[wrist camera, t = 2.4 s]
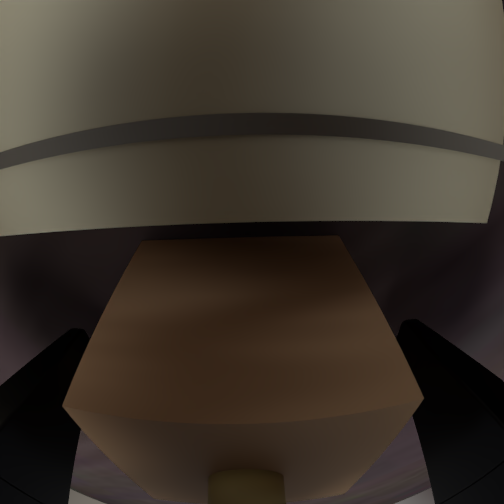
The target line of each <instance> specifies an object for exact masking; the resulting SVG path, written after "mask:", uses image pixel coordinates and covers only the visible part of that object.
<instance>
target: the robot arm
mask: <svg viewBox="0 0 504 504" xmlns="http://www.w3.org/2000/svg"><path fill="white" fill-rule="evenodd" d="M396 340H397V342H398V344H399V346H400V348H401V350H402V352H403V354H404V356H405V358H406V360H407V362H408V364H409V367H410V369H411V371H412V373H413V375H414V377H415V379H416V381H417V384H418V386H419V388H420V390H421V393H422V395H423V397H424V399H423V401H422V402H421V404H420V405H419V407H418V408H417V409H416V411H415V412H414V414H413V415H412V416H413V419H414V422H415V426H416V429H417V432H418V436H419V440H420V443H421V447H422V451H423V454H424V458H425V462H426V466H427V470H428V474H429V478H430V483H431V487H432V491H433V496H434V501H435V504H504V382H503V380H501V379H500V378H499V377H497V376H496V375H495V374H493V373H492V372H491V371H489V370H488V369H486V368H485V367H484V366H482V365H481V364H480V363H478V362H477V361H476V360H474V359H473V358H471V357H470V356H469V355H467V354H466V353H464V352H463V351H462V350H460V349H459V348H457V347H456V346H455V345H453V344H452V343H450V342H449V341H448V340H446V339H445V338H443V337H442V336H440V335H439V334H438V333H436V332H435V331H433V330H432V329H430V328H429V327H428V326H426V325H425V324H423V323H422V322H420V321H419V320H417V319H411V320H405V321H404V322H403V323H402V325H401V327H400V330H399V333H398V335H397V338H396ZM89 341H90V339H89V337H88V335H87V333H86V331H85V330H84V329H77V328H72V329H70V330H69V331H67V332H66V333H65V334H63V335H62V336H61V337H60V338H58V339H57V340H56V341H55V342H53V343H52V344H51V345H49V346H48V347H47V348H46V349H44V350H43V351H42V352H41V353H39V354H38V355H37V356H36V357H35V358H33V359H32V360H31V361H30V362H28V363H27V364H26V365H25V366H24V367H22V368H21V369H20V370H19V371H17V372H16V373H15V374H14V375H13V376H11V377H10V378H9V379H8V380H7V381H5V382H4V383H3V384H2V385H1V386H0V504H68V500H69V492H70V485H71V479H72V473H73V467H74V461H75V455H76V450H77V445H78V440H79V435H80V431H81V428H80V427H79V426H78V425H77V423H76V422H75V421H74V420H73V419H72V418H71V416H70V415H69V414H68V413H67V411H66V410H65V409H64V408H63V406H62V405H63V402H64V400H65V397H66V395H67V392H68V390H69V387H70V385H71V382H72V380H73V377H74V375H75V373H76V370H77V368H78V366H79V363H80V361H81V359H82V357H83V354H84V352H85V350H86V348H87V345H88V343H89Z"/></svg>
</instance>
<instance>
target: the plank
mask: <svg viewBox="0 0 504 504" xmlns="http://www.w3.org/2000/svg"><path fill="white" fill-rule="evenodd" d="M503 139H504V12H503V5H502V0H0V236H10V235H21V234H33V233H45V232H58V231H72V230H87V229H103V228H119V227H138V226H158V225H180V224H206V223H238V222H281V221H427V222H467V223H487V220H488V217H489V213H490V209H491V205H492V201H493V196H494V192H495V187H496V182H497V177H498V172H499V166H500V161H504V145H503Z"/></svg>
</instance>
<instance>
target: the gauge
mask: <svg viewBox="0 0 504 504" xmlns="http://www.w3.org/2000/svg"><path fill="white" fill-rule="evenodd" d="M423 399H424V397H423V395H422V393H421V390H420V388H419V386H418V384H417V381H416V379H415V377H414V375H413V373H412V371H411V369H410V367H409V364H408V362H407V360H406V358H405V356H404V354H403V352H402V350H401V348H400V346H399V344H398V342H397V340H396V338H395V336H394V334H393V332H392V330H391V328H390V326H389V324H388V322H387V320H386V319H385V317H384V315H383V313H382V311H381V309H380V307H379V305H378V303H377V302H376V300H375V298H374V296H373V294H372V292H371V291H370V289H369V287H368V285H367V283H366V282H365V280H364V278H363V276H362V275H361V273H360V271H359V269H358V268H357V266H356V264H355V262H354V261H353V259H352V257H351V256H350V254H349V252H348V251H347V249H346V247H345V245H344V244H343V242H342V241H341V239H340V237H339V236H338V235H327V236H277V237H238V238H204V239H174V240H147V241H141V243H140V245H139V247H138V248H137V250H136V252H135V254H134V255H133V257H132V259H131V261H130V262H129V264H128V266H127V268H126V270H125V272H124V273H123V275H122V277H121V279H120V281H119V283H118V285H117V286H116V288H115V290H114V292H113V294H112V296H111V298H110V300H109V302H108V304H107V306H106V308H105V310H104V312H103V314H102V316H101V318H100V320H99V322H98V324H97V326H96V328H95V330H94V333H93V335H92V337H91V339H90V341H89V343H88V345H87V348H86V350H85V352H84V354H83V357H82V359H81V361H80V363H79V366H78V368H77V370H76V373H75V375H74V377H73V380H72V382H71V385H70V387H69V390H68V392H67V395H66V397H65V400H64V402H63V405H62V406H63V408H64V409H65V410H66V411H67V413H68V414H69V415H70V416H71V418H72V419H73V420H74V421H75V422H76V423H77V425H78V426H79V427H80V428H81V429H82V430H83V432H84V433H85V434H86V435H87V436H88V437H89V438H90V439H91V440H92V441H93V443H94V444H95V445H96V446H97V447H98V448H99V449H100V450H101V451H102V452H103V453H104V454H105V455H106V456H107V457H108V458H109V459H110V460H111V461H112V462H113V463H114V464H115V465H116V466H117V467H118V468H119V469H120V470H121V471H123V472H124V473H125V474H126V475H127V476H128V477H129V478H130V479H131V480H132V481H134V482H135V483H136V484H137V485H138V486H139V487H141V488H142V489H143V490H144V491H145V492H146V493H148V494H149V495H150V496H151V497H153V498H154V499H160V500H168V501H177V502H188V503H202V504H286V502H293V501H302V500H310V499H318V498H324V497H330V496H336V495H341V494H345V493H346V492H347V491H348V490H349V489H350V488H351V487H352V486H353V485H354V484H355V483H356V482H357V481H358V480H359V479H360V477H361V476H362V475H363V474H364V473H365V472H366V471H367V470H368V469H369V468H370V467H371V466H372V465H373V463H374V462H375V461H376V460H377V459H378V458H379V457H380V455H381V454H382V453H383V452H384V451H385V450H386V448H387V447H388V446H389V445H390V444H391V442H392V441H393V440H394V439H395V437H396V436H397V435H398V434H399V432H400V431H401V430H402V428H403V427H404V426H405V424H406V423H407V422H408V420H409V419H410V418H411V416H412V415H413V414H414V412H415V411H416V409H417V408H418V407H419V405H420V404H421V402H422V401H423Z"/></svg>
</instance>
